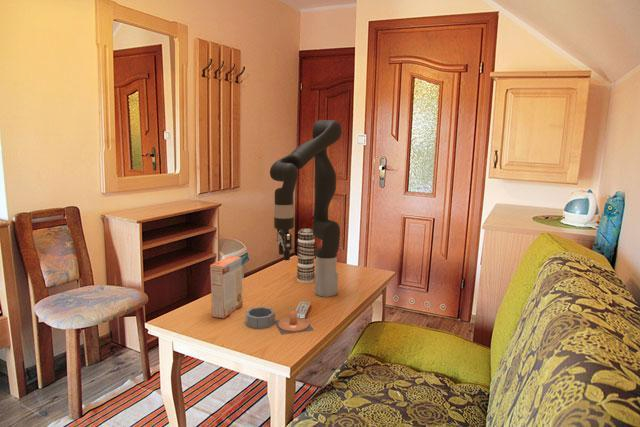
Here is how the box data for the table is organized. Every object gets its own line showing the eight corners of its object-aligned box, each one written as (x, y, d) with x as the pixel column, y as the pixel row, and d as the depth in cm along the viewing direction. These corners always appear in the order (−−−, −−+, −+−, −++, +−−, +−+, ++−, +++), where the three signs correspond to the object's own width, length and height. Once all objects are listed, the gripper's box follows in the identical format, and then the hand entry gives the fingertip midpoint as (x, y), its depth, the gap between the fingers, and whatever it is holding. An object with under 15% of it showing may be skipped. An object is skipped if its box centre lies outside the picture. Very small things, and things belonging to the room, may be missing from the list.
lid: (303, 317, 165) (303, 304, 164) (312, 329, 154) (312, 316, 154) (274, 320, 161) (274, 307, 160) (282, 333, 151) (282, 319, 150)
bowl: (270, 316, 166) (270, 305, 165) (276, 327, 157) (276, 316, 156) (244, 320, 163) (244, 308, 162) (249, 331, 154) (249, 319, 153)
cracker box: (230, 304, 178) (229, 255, 174) (243, 306, 176) (242, 256, 172) (210, 317, 165) (209, 264, 161) (224, 319, 163) (223, 266, 159)
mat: (304, 318, 165) (304, 316, 165) (314, 331, 154) (314, 330, 154) (273, 322, 162) (273, 320, 161) (281, 336, 150) (281, 334, 150)
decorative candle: (292, 281, 208) (293, 230, 203) (301, 275, 216) (301, 226, 212) (310, 284, 204) (311, 232, 200) (318, 278, 212) (319, 228, 208)
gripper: (298, 218, 158) (298, 261, 161) (289, 212, 171) (289, 251, 174) (278, 219, 156) (278, 263, 159) (270, 212, 169) (270, 253, 172)
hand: (284, 257), depth 167 cm, fingers open, 8 cm apart
